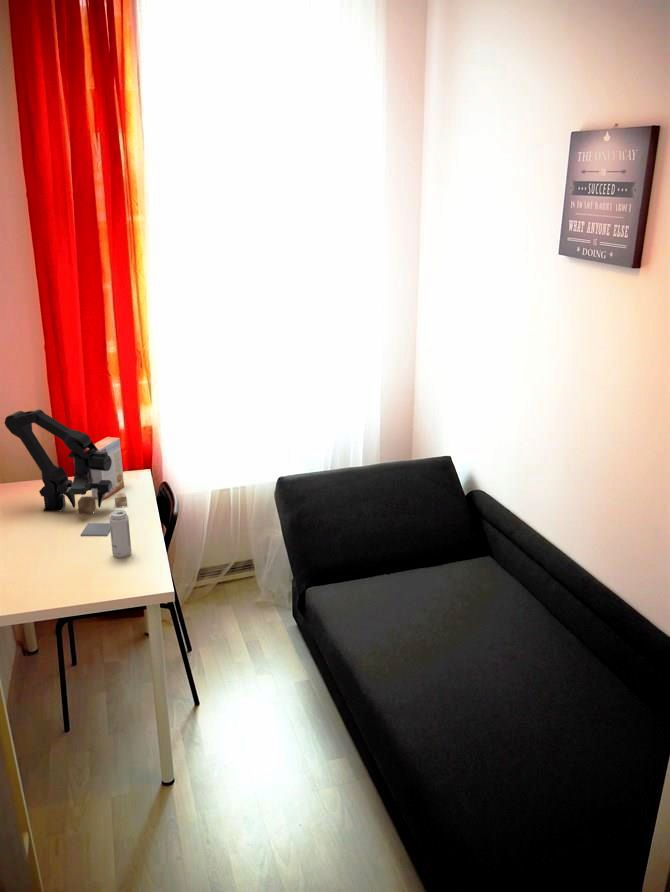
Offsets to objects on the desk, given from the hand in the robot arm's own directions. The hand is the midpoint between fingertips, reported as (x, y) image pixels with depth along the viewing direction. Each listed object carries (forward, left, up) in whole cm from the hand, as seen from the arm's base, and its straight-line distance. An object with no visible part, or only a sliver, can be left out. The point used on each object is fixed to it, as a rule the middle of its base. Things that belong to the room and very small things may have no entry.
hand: (86, 507), depth 278 cm
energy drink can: (+21, -34, -2) cm, 40 cm away
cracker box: (+3, +18, -2) cm, 18 cm away
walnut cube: (0, 0, -2) cm, 2 cm away
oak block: (+11, +6, -2) cm, 13 cm away
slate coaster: (+8, -16, -2) cm, 18 cm away
